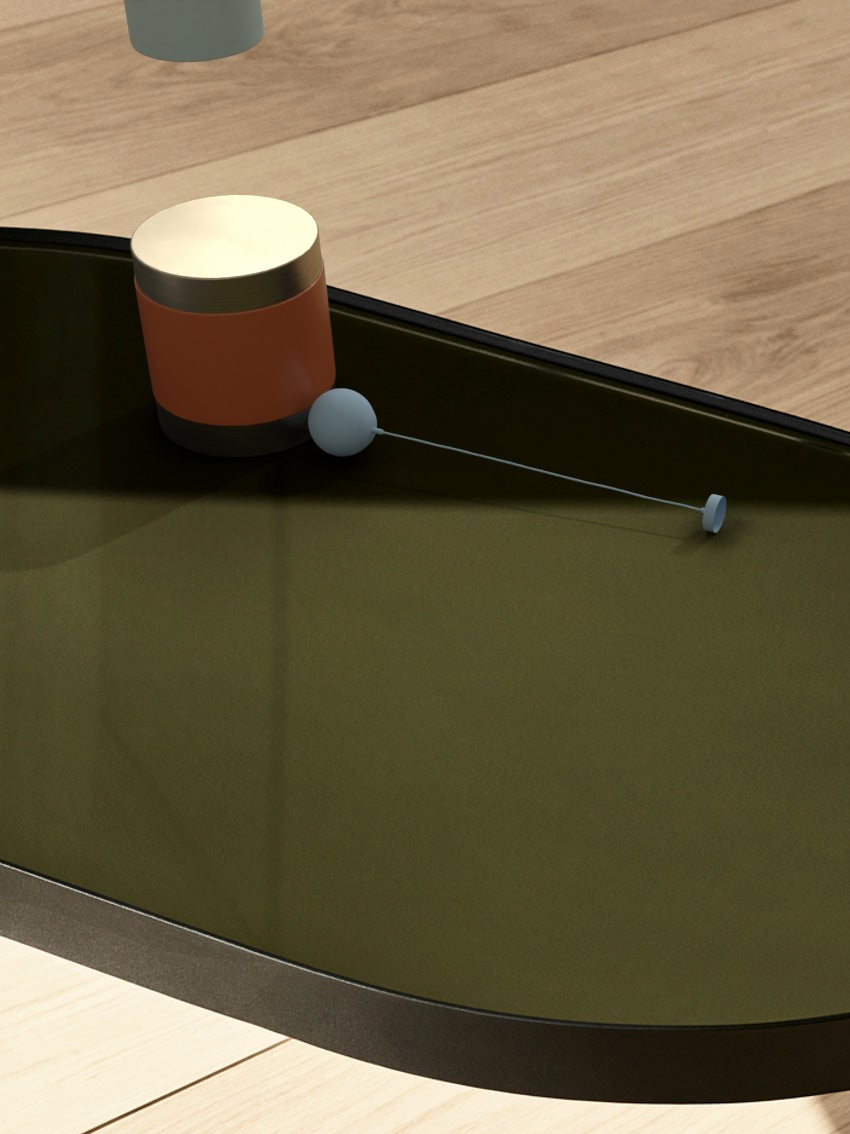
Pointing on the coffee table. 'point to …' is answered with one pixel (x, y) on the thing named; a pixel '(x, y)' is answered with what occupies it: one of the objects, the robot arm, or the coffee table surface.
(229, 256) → the tin
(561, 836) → the coffee table surface
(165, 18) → the bottle
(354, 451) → the ball ended pin
